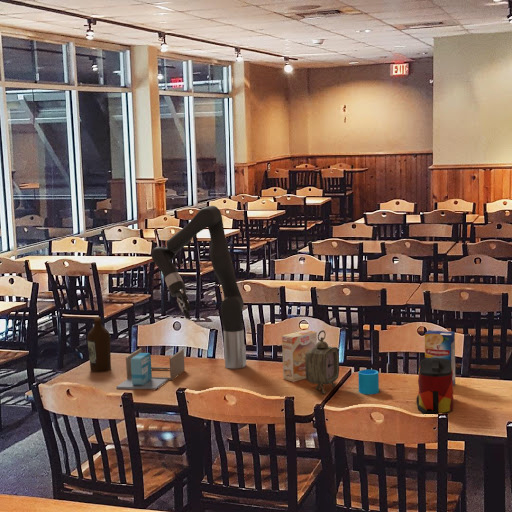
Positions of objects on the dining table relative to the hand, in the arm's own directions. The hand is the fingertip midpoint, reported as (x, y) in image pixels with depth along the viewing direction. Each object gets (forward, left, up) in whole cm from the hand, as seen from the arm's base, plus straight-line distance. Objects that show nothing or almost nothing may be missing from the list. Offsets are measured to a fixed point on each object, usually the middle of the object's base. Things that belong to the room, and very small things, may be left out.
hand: (189, 314), depth 398 cm
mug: (-85, +25, -26) cm, 92 cm away
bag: (-112, +42, -26) cm, 122 cm away
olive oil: (+43, +5, -26) cm, 51 cm away
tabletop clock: (-66, +27, -26) cm, 76 cm away
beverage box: (-113, +14, -26) cm, 117 cm away
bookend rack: (+13, +11, -26) cm, 31 cm away
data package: (+13, +27, -25) cm, 39 cm away
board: (+13, +28, -26) cm, 40 cm away
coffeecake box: (-53, +8, -26) cm, 59 cm away
